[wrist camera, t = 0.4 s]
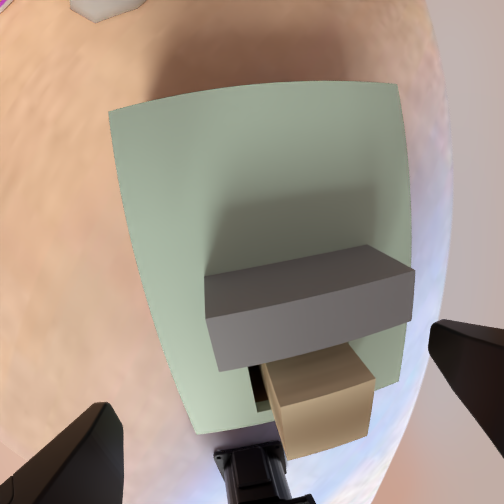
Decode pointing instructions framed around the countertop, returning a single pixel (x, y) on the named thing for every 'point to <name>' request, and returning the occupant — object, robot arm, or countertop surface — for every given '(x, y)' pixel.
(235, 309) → the lid
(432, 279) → the countertop surface
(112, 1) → the flask
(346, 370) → the tan rectangular block
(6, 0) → the supplement bottle
